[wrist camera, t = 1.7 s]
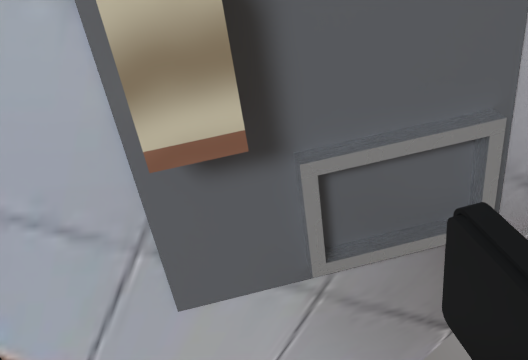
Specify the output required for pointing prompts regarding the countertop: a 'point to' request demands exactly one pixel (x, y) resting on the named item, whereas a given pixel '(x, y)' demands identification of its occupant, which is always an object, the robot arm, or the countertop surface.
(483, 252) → the robot arm
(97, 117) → the countertop surface
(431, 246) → the metal frame
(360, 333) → the countertop surface
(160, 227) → the rubber mat
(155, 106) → the maple block
